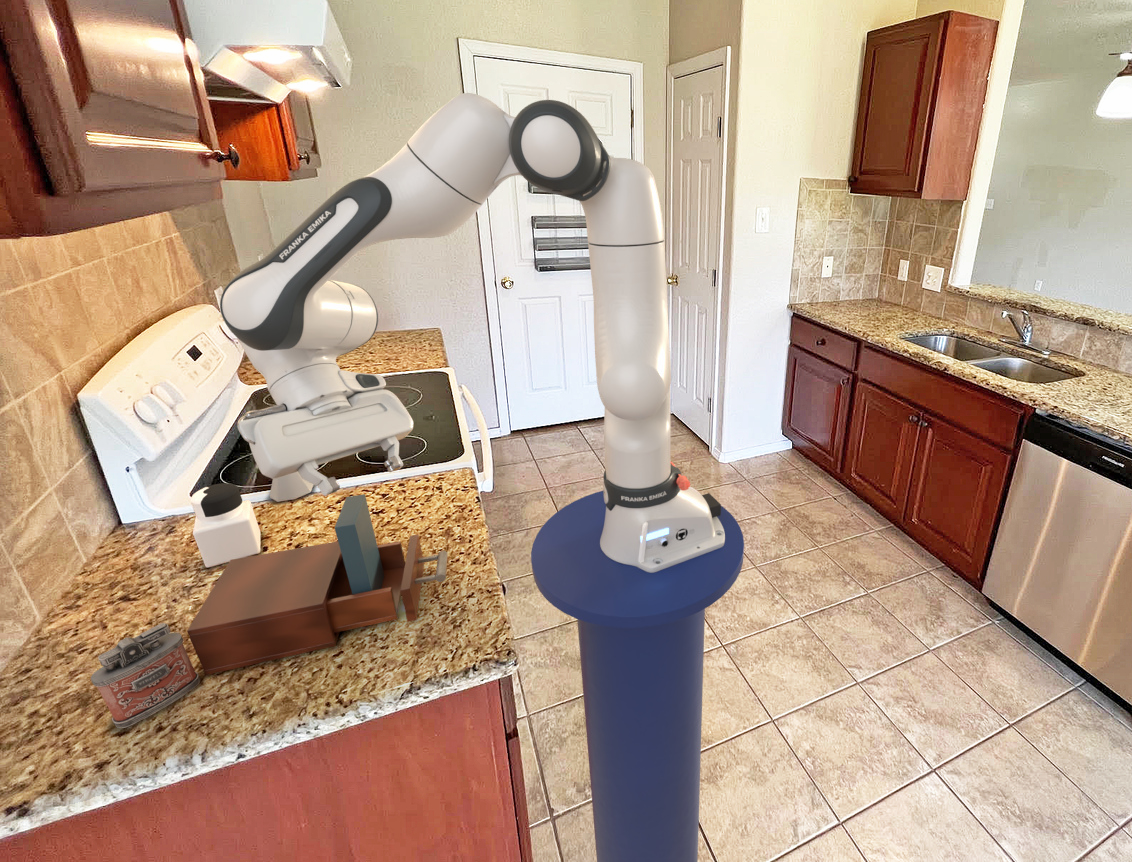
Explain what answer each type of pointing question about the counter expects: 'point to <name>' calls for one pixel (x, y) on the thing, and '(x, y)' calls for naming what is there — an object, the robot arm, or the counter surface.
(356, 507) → the dark teal rectangular block
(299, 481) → the flask
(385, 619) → the drawer
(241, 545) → the medicine bottle
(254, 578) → the cabinet
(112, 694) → the lighter
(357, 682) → the counter surface
